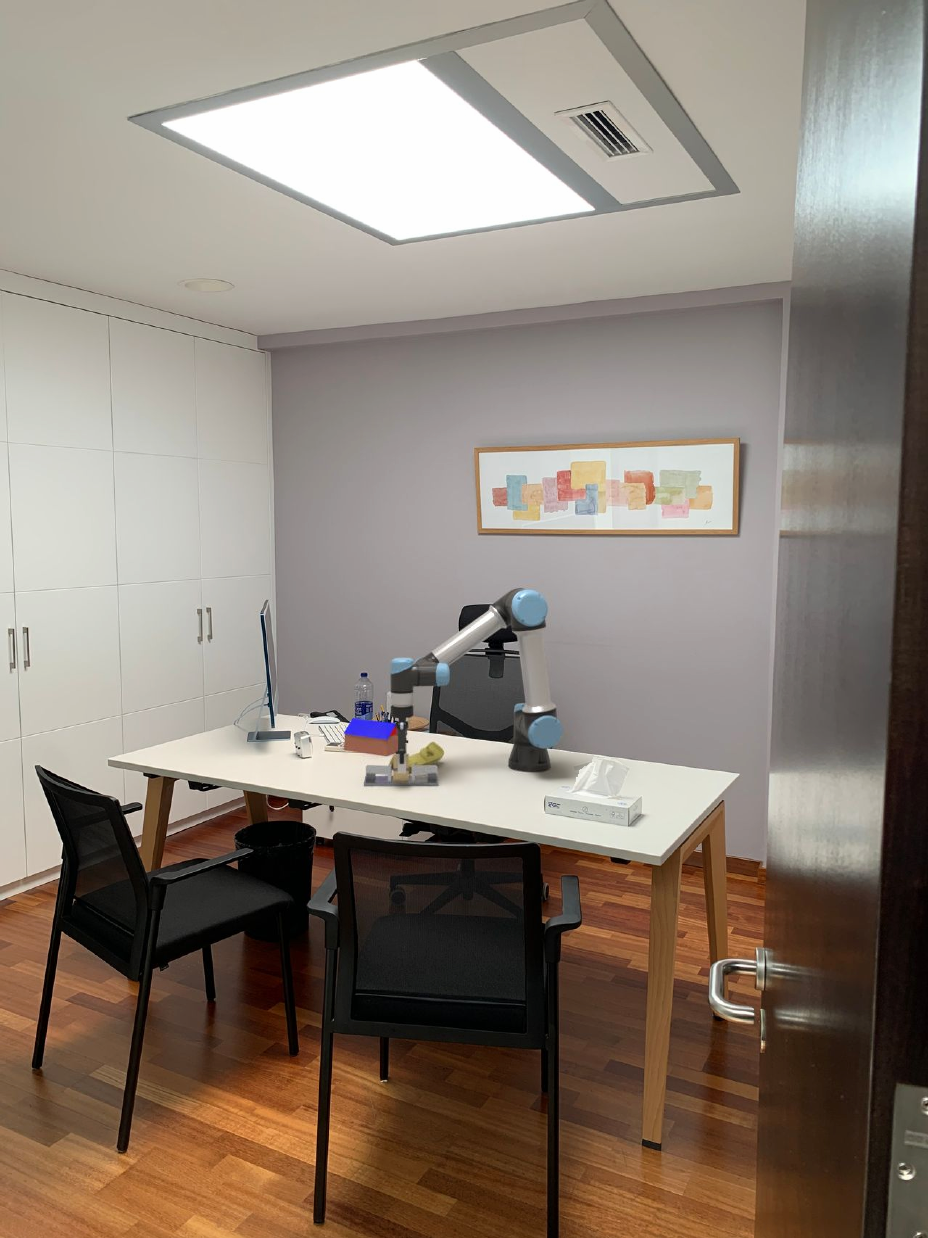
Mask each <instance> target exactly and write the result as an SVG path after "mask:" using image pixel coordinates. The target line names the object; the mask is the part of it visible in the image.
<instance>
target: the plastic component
mask: <svg viewBox="0 0 928 1238" xmlns="http://www.w3.org/2000/svg"><path fill="white" fill-rule="evenodd" d="M444 755H445V751H444V749H443V747H441V746H440V745H439V744H437V743H436V742H435V741H431V742H429V743H428V744H427V746H425V747H423V748H421V749H420V750H419V752H417V753H414V754H411V755H409V774H412V764H415V766H420V765H434V763H437V762H438V761H440V760H441V759H442V758H443V757H444ZM393 759H394V755H392V757H391V759H390V761H389V763H388V765H389V764H392V769H393Z"/></svg>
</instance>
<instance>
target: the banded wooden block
mask: <svg viewBox="0 0 928 1238" xmlns="http://www.w3.org/2000/svg"><path fill="white" fill-rule="evenodd" d="M393 756H394V759H393V768H392V771H393V775H392V776H393V781H409V776H410V775H409V774H410V773H409V756H410V755H409V753H407V754H406V773H398V754H396V753H395V754H393Z"/></svg>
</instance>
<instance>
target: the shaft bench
mask: <svg viewBox="0 0 928 1238" xmlns="http://www.w3.org/2000/svg"><path fill="white" fill-rule="evenodd" d="M392 771H393V768H392V764H389V763H388V765H382V764H381V765H379V764H378V765H375V764H367V765H366V766H365V776H364V781H363V782H364V783H363V787H439V776H438V765H436V764H432V765H420V766H415V764H412V773H411V775H409V781H393V775H392Z"/></svg>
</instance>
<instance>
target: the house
mask: <svg viewBox="0 0 928 1238" xmlns="http://www.w3.org/2000/svg"><path fill="white" fill-rule="evenodd" d="M351 718H352V717H351ZM343 735H344V751H348V752H354V753H355V752H356V753H362V754H367V755H368V754H369V755H375V756H382V757H389V756H393V755H394V754H396V751H398V736H397V728H396V723H394V722H388V721H387V722H385V721H378V720H377V721H376V720H372V719H371V720H370V719H363V718H352V719H351V720H350V722H349V723H348V725H347V727H346V729H345V730H344V732H343Z"/></svg>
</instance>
